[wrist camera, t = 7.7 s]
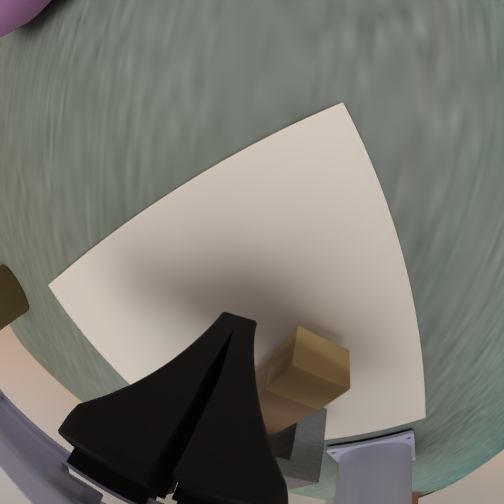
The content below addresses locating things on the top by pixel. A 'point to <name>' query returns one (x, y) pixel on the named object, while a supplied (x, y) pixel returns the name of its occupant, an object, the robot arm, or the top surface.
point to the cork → (10, 298)
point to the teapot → (18, 13)
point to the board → (265, 270)
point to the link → (301, 379)
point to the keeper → (301, 449)
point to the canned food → (415, 497)
